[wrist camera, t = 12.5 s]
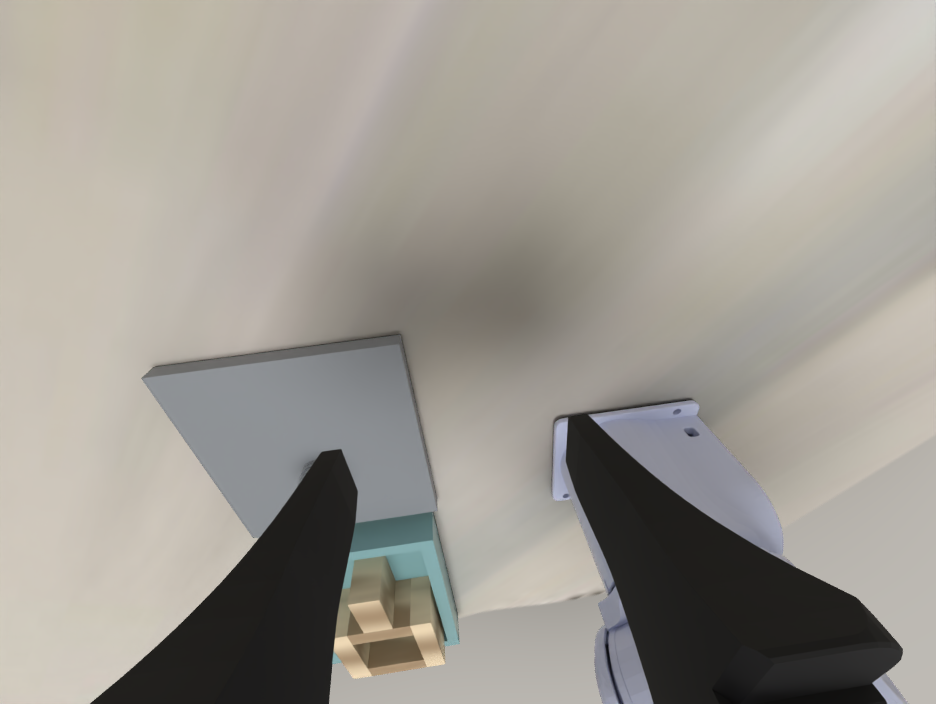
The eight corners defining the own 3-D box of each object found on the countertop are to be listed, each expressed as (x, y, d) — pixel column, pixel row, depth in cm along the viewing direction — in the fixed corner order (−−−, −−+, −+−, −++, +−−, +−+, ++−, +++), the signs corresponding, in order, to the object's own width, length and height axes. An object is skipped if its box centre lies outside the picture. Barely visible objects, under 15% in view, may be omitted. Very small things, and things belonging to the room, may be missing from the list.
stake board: (437, 499, 28) (439, 574, 23) (258, 525, 27) (225, 607, 23) (400, 334, 20) (393, 398, 16) (153, 367, 20) (72, 442, 15)
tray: (432, 508, 28) (433, 540, 26) (457, 614, 37) (459, 644, 35) (270, 532, 28) (258, 566, 26) (336, 632, 37) (330, 664, 35)
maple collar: (443, 619, 36) (445, 664, 33) (359, 632, 36) (353, 678, 33) (420, 545, 29) (420, 593, 26) (317, 561, 29) (305, 611, 26)
